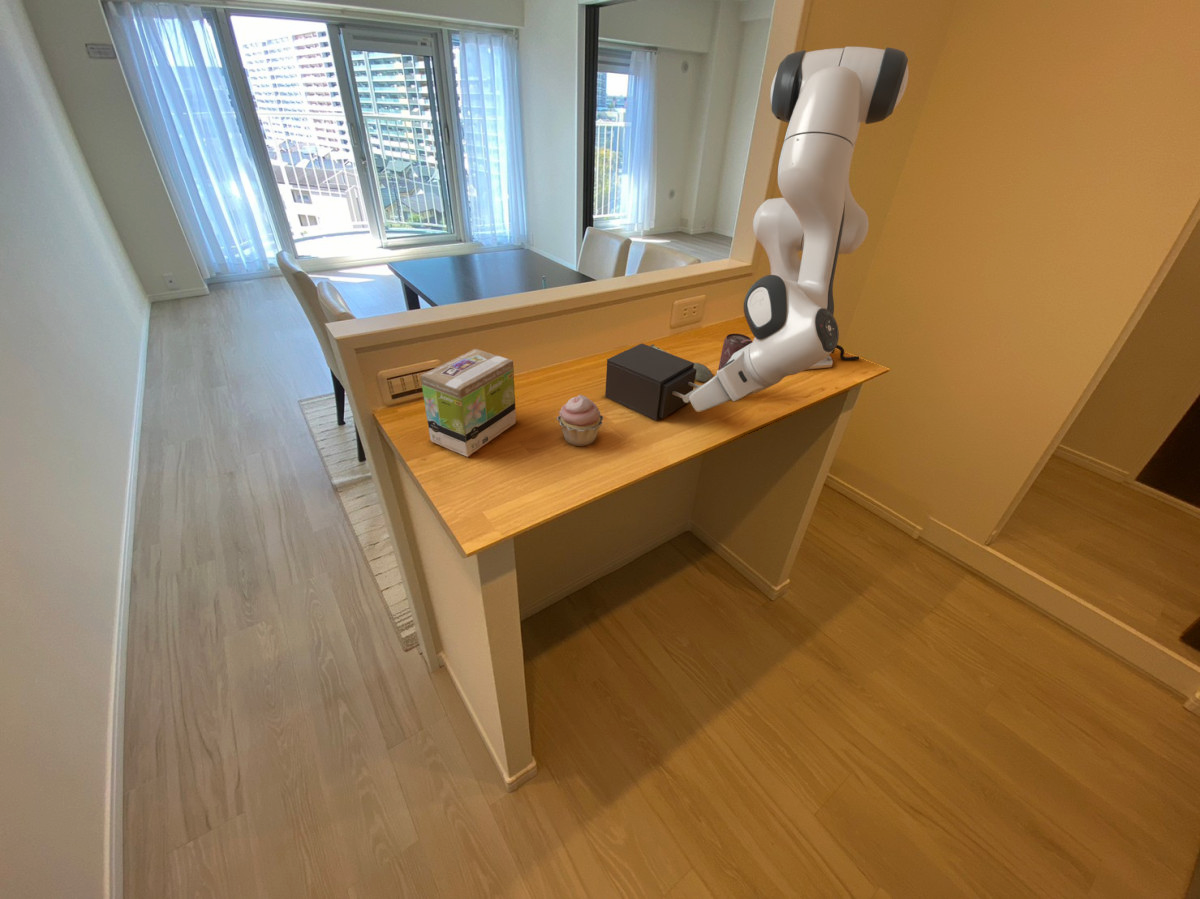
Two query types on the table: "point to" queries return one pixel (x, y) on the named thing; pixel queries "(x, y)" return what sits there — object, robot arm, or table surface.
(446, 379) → the tea box
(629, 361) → the black drawer box
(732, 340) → the can
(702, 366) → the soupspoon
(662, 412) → the dark drawer with handle
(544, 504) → the table surface
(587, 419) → the cupcake
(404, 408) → the table surface
